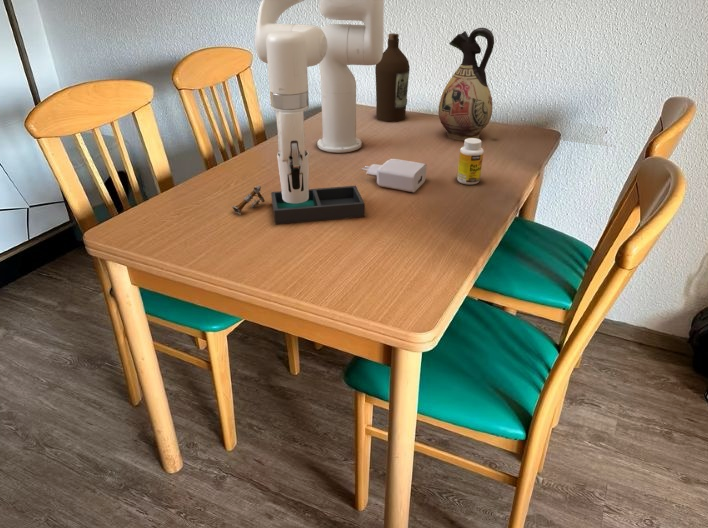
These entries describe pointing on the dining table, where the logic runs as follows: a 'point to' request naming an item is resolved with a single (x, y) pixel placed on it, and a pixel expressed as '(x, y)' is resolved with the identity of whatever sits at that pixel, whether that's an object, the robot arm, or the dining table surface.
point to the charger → (399, 174)
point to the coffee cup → (297, 194)
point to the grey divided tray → (320, 205)
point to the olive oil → (392, 82)
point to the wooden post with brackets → (248, 199)
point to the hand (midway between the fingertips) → (295, 186)
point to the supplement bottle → (470, 162)
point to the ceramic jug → (467, 90)
